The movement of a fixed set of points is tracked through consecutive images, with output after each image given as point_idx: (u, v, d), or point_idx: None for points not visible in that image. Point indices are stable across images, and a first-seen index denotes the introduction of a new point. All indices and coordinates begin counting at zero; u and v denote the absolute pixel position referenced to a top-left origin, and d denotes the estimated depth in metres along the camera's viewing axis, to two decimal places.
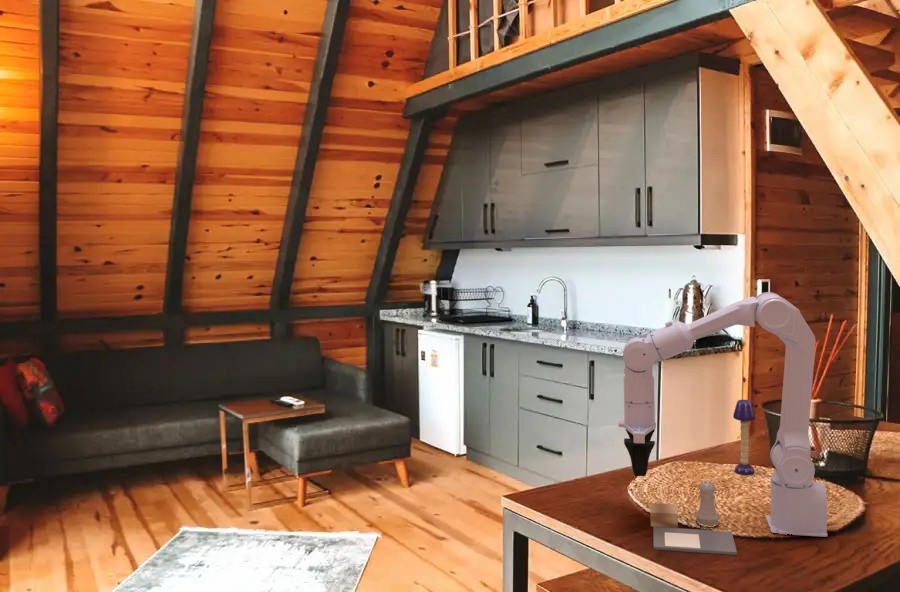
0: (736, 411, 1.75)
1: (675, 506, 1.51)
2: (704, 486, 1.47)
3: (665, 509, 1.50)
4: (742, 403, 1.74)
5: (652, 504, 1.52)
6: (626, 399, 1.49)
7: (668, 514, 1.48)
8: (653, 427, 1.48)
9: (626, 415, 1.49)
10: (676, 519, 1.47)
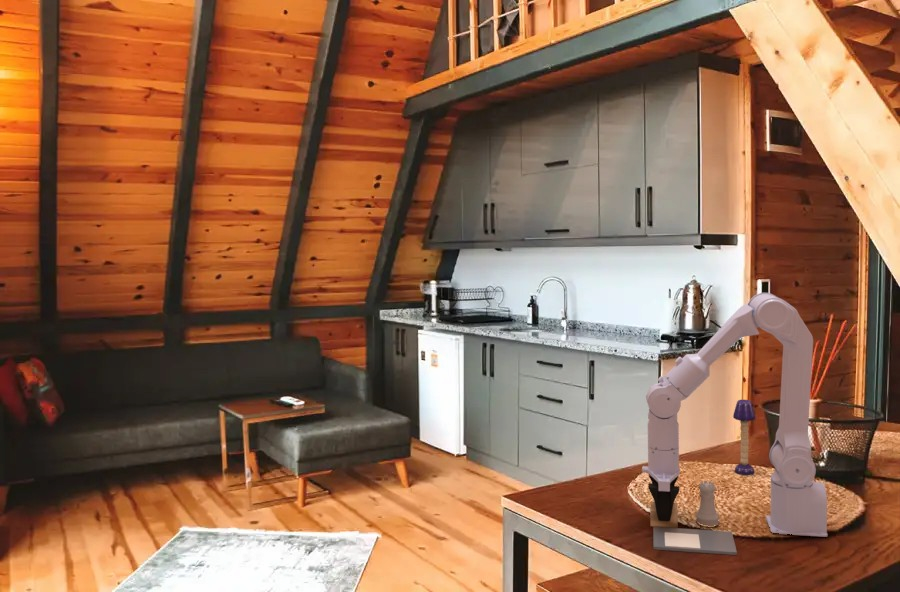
0: (736, 411, 1.75)
1: (675, 505, 1.51)
2: (704, 486, 1.47)
3: None
4: (742, 403, 1.74)
5: (652, 502, 1.52)
6: (651, 445, 1.48)
7: None
8: (677, 473, 1.47)
9: (650, 461, 1.48)
10: (676, 518, 1.47)
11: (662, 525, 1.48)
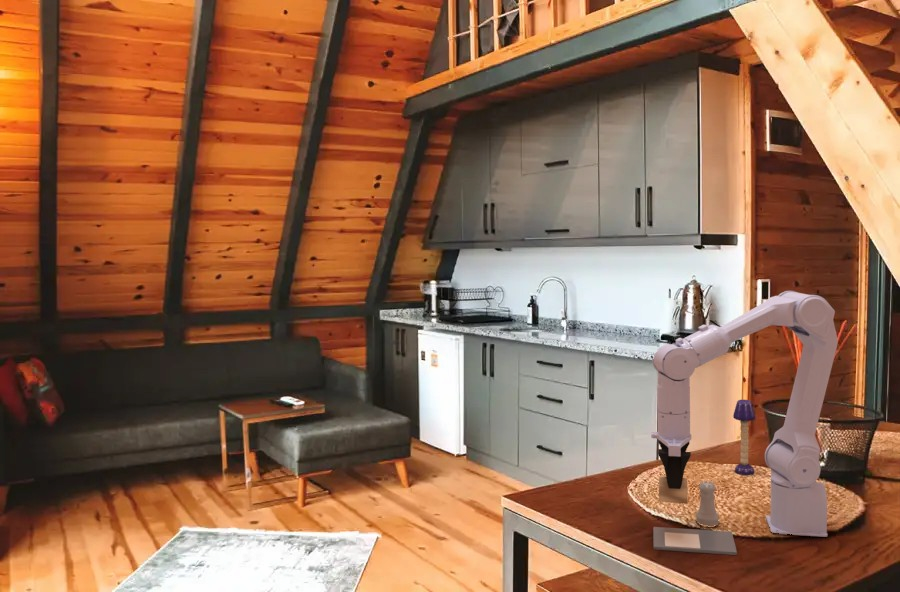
0: (736, 411, 1.75)
1: (685, 480, 1.44)
2: (704, 486, 1.47)
3: None
4: (742, 403, 1.74)
5: (660, 477, 1.46)
6: (663, 410, 1.40)
7: None
8: (689, 439, 1.40)
9: (660, 426, 1.41)
10: (686, 493, 1.41)
11: (671, 501, 1.41)
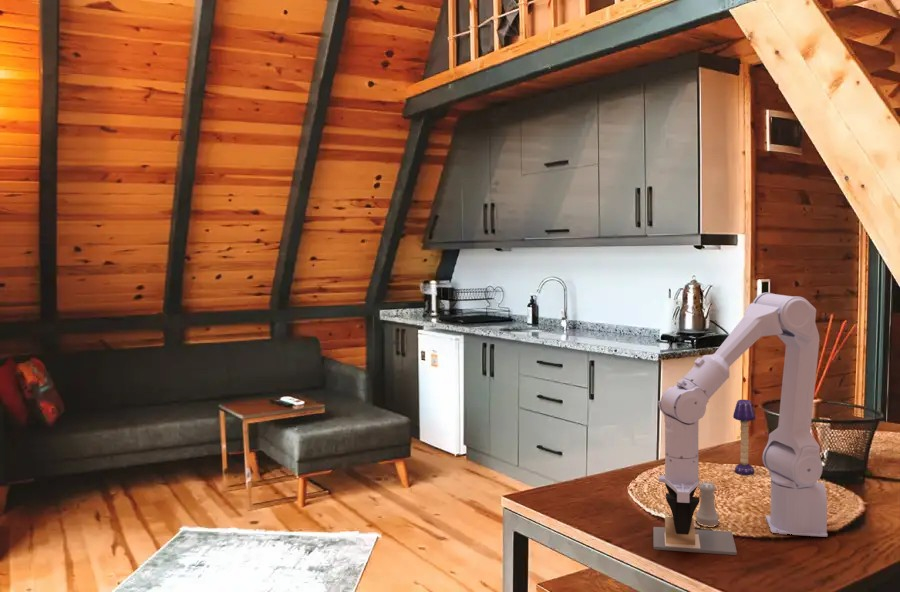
0: (736, 411, 1.75)
1: None
2: (704, 486, 1.47)
3: None
4: (742, 403, 1.74)
5: (666, 518, 1.43)
6: (674, 454, 1.37)
7: None
8: (697, 483, 1.37)
9: (667, 470, 1.38)
10: (693, 534, 1.38)
11: (678, 542, 1.39)
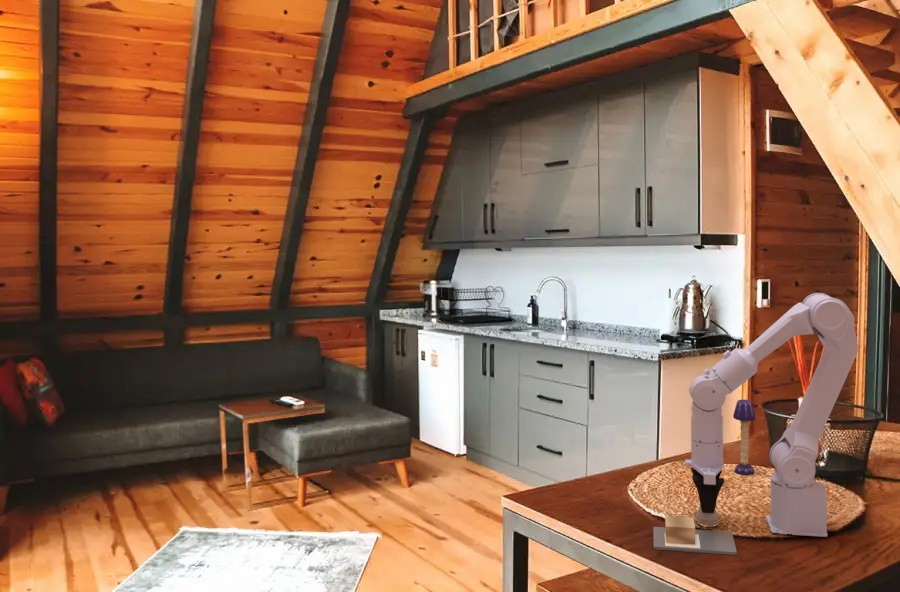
0: (736, 411, 1.75)
1: (691, 519, 1.42)
2: None
3: (681, 523, 1.40)
4: (742, 403, 1.74)
5: (666, 517, 1.43)
6: (694, 438, 1.46)
7: (684, 528, 1.38)
8: (722, 467, 1.45)
9: (694, 454, 1.47)
10: (693, 534, 1.38)
11: (679, 541, 1.39)
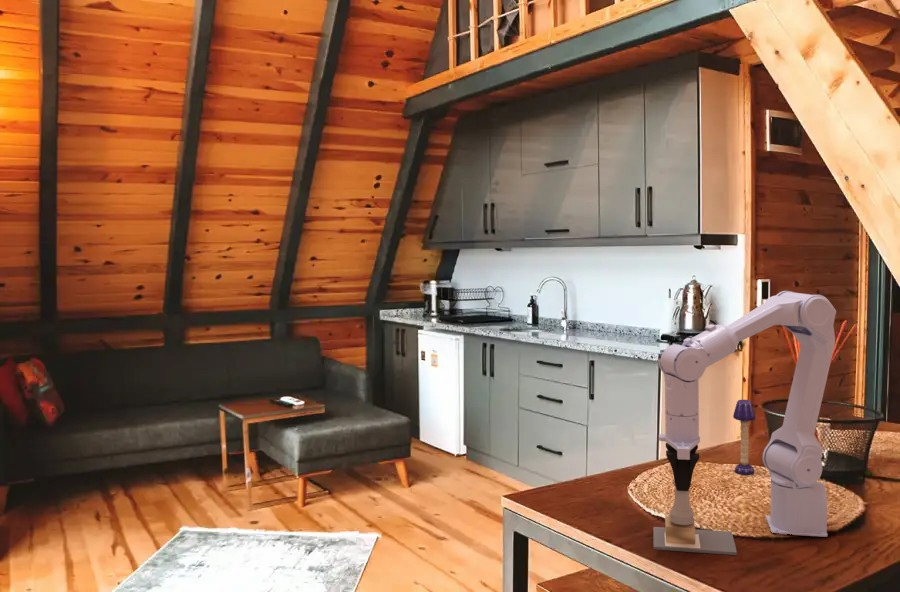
0: (736, 411, 1.75)
1: None
2: None
3: None
4: (742, 403, 1.74)
5: (666, 517, 1.43)
6: (674, 412, 1.36)
7: (684, 528, 1.38)
8: (697, 441, 1.36)
9: (668, 428, 1.38)
10: (693, 534, 1.38)
11: (679, 541, 1.39)
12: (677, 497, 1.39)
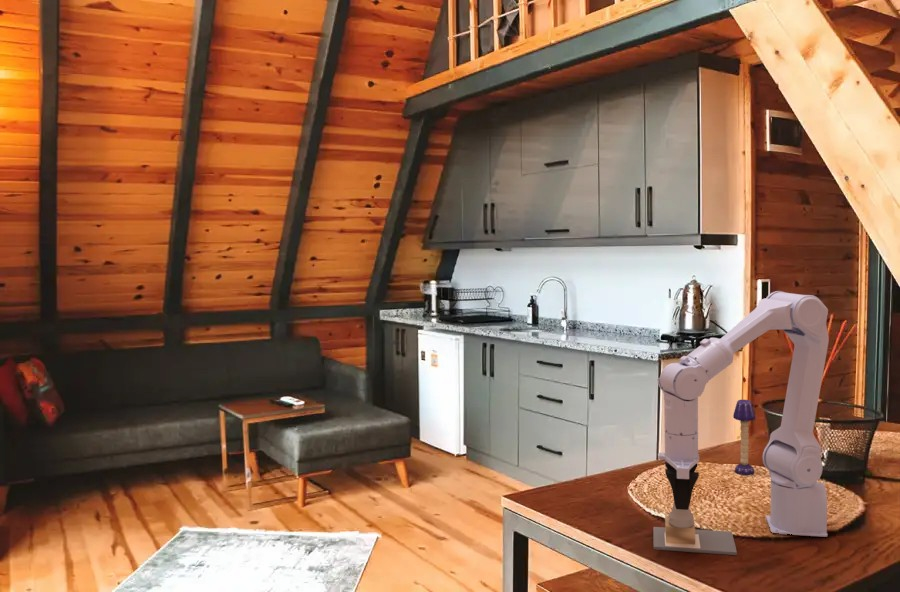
0: (736, 411, 1.75)
1: None
2: None
3: None
4: (742, 403, 1.74)
5: (666, 517, 1.43)
6: (673, 431, 1.36)
7: (684, 528, 1.38)
8: (697, 460, 1.37)
9: (667, 447, 1.38)
10: (693, 534, 1.38)
11: (679, 541, 1.39)
12: None
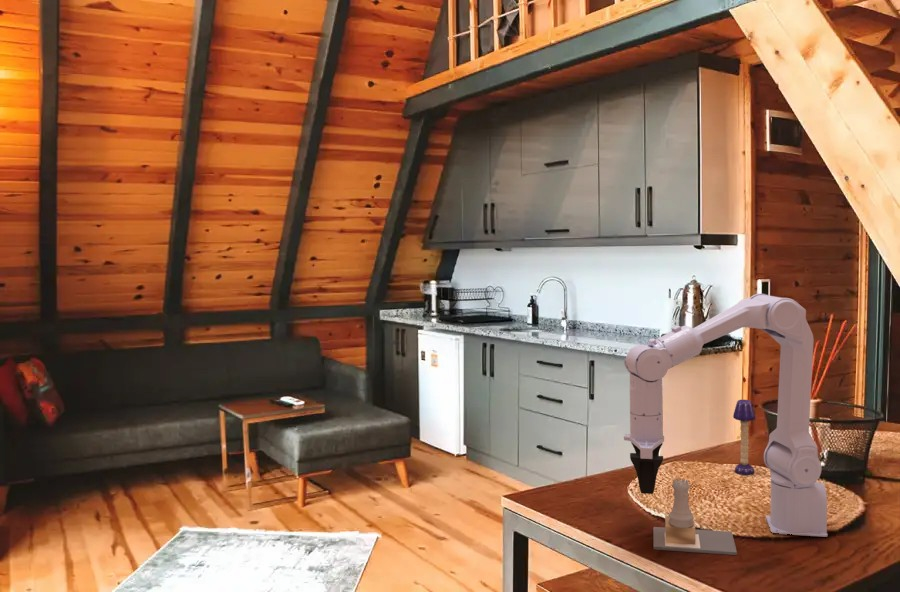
0: (736, 411, 1.75)
1: None
2: (679, 484, 1.38)
3: None
4: (742, 403, 1.74)
5: (667, 517, 1.43)
6: (636, 412, 1.38)
7: (685, 528, 1.38)
8: (661, 441, 1.38)
9: (632, 428, 1.39)
10: (693, 534, 1.38)
11: (679, 541, 1.39)
12: (676, 500, 1.39)
